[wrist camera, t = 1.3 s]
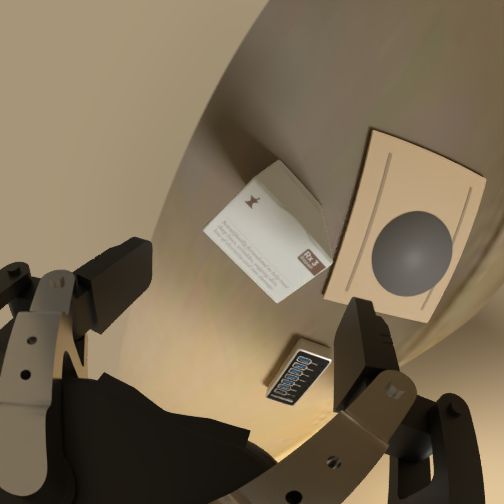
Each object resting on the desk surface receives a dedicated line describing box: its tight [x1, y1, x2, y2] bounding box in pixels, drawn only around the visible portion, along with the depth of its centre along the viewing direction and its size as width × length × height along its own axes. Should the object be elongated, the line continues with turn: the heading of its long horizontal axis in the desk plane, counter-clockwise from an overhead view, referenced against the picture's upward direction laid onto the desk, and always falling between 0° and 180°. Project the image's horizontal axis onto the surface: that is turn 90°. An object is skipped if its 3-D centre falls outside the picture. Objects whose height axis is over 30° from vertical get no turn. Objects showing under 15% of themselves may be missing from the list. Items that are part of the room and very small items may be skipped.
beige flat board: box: [323, 130, 487, 323], centre depth 23 cm, size 17×13×1 cm
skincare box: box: [203, 160, 333, 303], centre depth 19 cm, size 6×4×12 cm
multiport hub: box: [265, 338, 332, 406], centre depth 32 cm, size 4×11×2 cm, turn 161°
